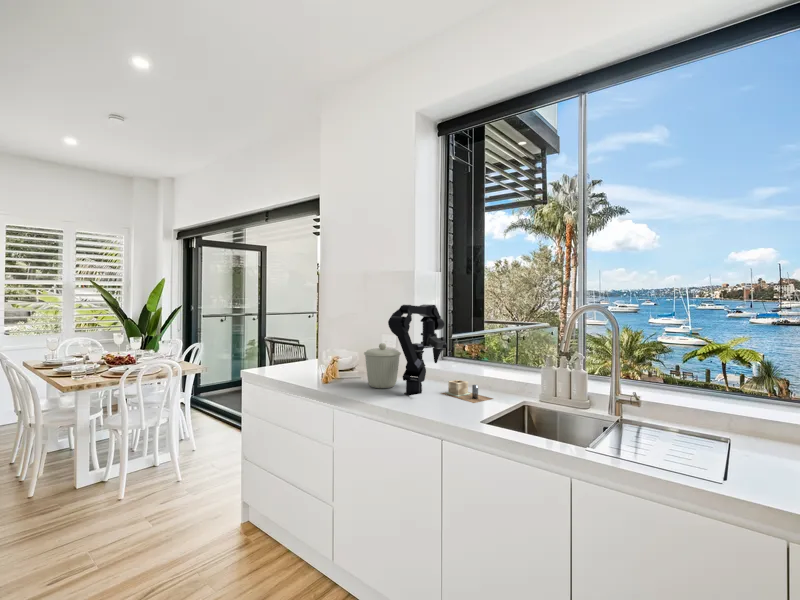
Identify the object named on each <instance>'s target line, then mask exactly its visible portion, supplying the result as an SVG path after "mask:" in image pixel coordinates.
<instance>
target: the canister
mask: <svg viewBox="0 0 800 600" xmlns="http://www.w3.org/2000/svg"><path fill="white" fill-rule="evenodd" d="M401 354H402V352H401V351H399V350H397V349H395V348H387V345H386V343H383V342H381V343H379V344H378V348H370V349H367V350H366V351H364V352H363V355H364V356H365V357H364V358H365V366H366V367H365V368H366V376H367V382H368V385H369V386H370V387H371V388H375V389H390V388H393V387H394V386H395V385H396V384H397V380H398V373H399V365H400V355H401Z"/></svg>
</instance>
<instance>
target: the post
mask: <svg viewBox="0 0 800 600" xmlns="http://www.w3.org/2000/svg"><path fill="white" fill-rule="evenodd" d="M471 386H472V389H471V393H472V399H478V395H479V385H478V384H472V385H471Z"/></svg>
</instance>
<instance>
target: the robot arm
mask: <svg viewBox="0 0 800 600" xmlns="http://www.w3.org/2000/svg"><path fill="white" fill-rule="evenodd" d="M413 314H415V315H419V316H421V317H422V318H421V319H420V322H422V332H421V333H420V336H422V341H420V343H418V342H415V343H413V342H412V340H411V337H410V333H409V331H410V327H411V326H410V324H411V322H412V319H413V318H412V316H413ZM405 315H406V316H405ZM387 323H388V324H387V325H388V328H389V329H390V331H391V333H392V334H393V335H395V336H396V337H397V339H398V342H399V345H400V347H401V350H402V352H403V355H404V357H405V360H406V365H405V371H404V373H403V375H402V380H403V381H405V392H403V394H404V395H406V396H414V395H421V394H422V393H423V392H422V391H423V384H422V382H425V380H426V375H427V368H426V364H425V361H424V359H423V354H424V352H425V351H424V349H431V348H432V353H433V355H432V356H433V362H434V364H437V363H438V360H439V358H440V355H441V352H443V351H444V350H446V349H447V347H448V346H447V345H448V344H447V341H446V340H447V339H446V337H445V336H440V337H438V334H437V333H435V332H436V331H440V330H442V329H444V327H445V322H444V320H443V319H442V317H441V315H440V313H439V310H438V307H437V305H435V304H421V305H412V304H402V305H400V307H399V308H398V309H397V310H396V311H395V312H393V313H392V314H391V316H390V318H389V319H388V321H387Z"/></svg>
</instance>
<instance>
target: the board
mask: <svg viewBox="0 0 800 600" xmlns="http://www.w3.org/2000/svg"><path fill="white" fill-rule="evenodd" d="M440 394H441V395H443V396H444V395H445V396H447V397H451V398H454V399H459V400H462V401H466V402H468V403H472V404H478V403H482V402H485V401H490V400H494V398H492V397H489V396H486V395H485V396H484V395H481V394H478V399H472V392H470V391H468V394H463V395H455V394H451V393H448V391H447V392H446V391H445V392H441V393H440Z"/></svg>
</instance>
